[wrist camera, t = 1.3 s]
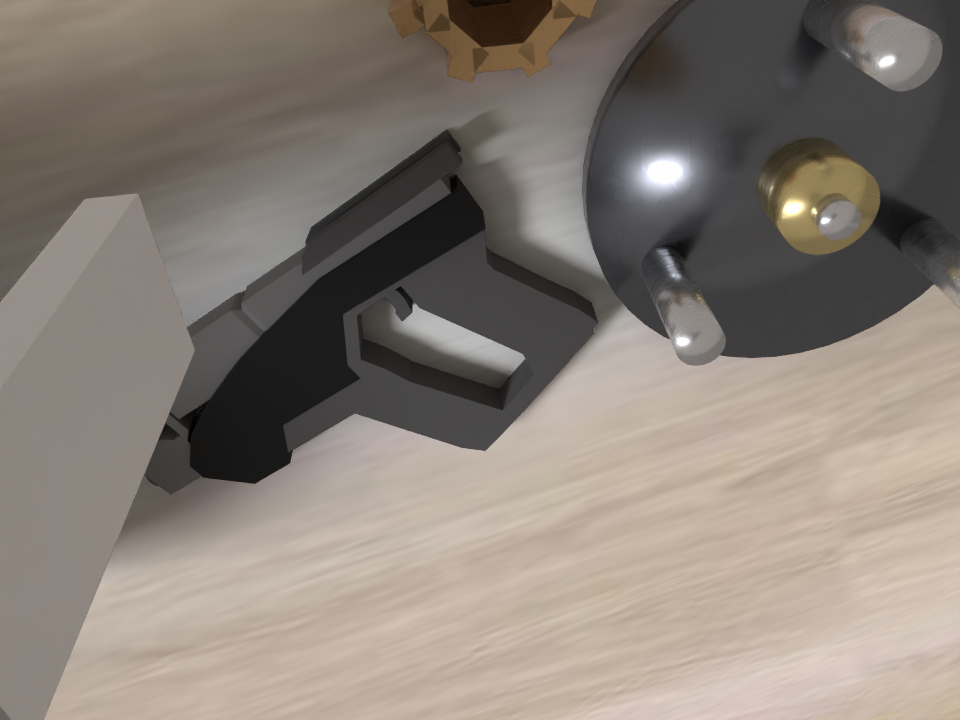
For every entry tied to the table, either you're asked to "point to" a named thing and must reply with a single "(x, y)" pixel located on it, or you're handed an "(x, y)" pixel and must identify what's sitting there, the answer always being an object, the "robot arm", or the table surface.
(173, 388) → the robot arm
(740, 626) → the table surface
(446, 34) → the planet gear
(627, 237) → the carrier
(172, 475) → the pistol
